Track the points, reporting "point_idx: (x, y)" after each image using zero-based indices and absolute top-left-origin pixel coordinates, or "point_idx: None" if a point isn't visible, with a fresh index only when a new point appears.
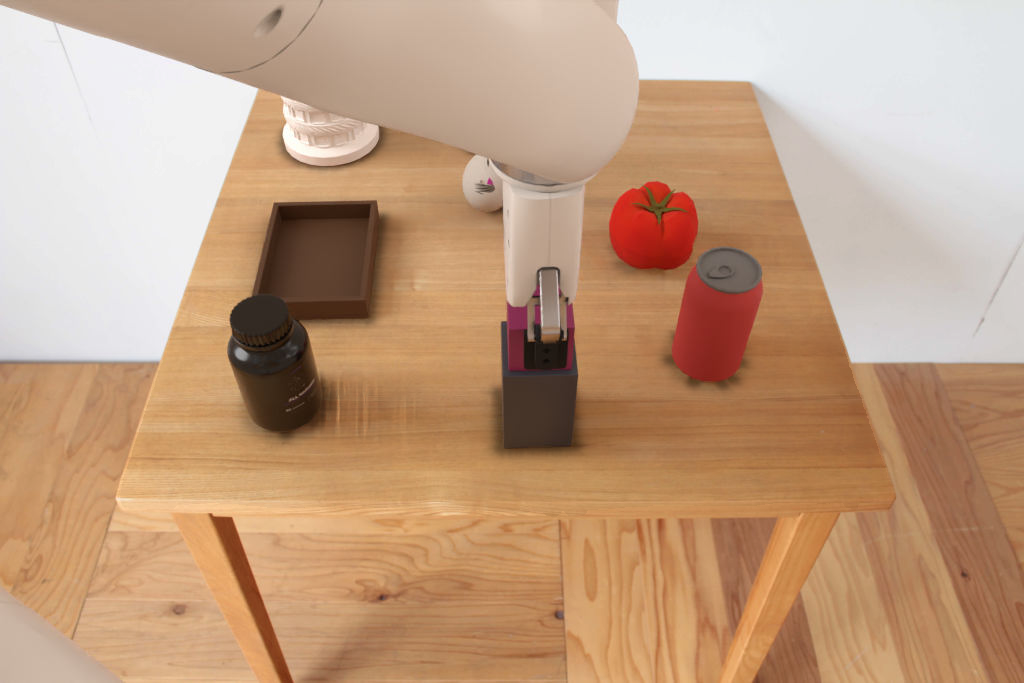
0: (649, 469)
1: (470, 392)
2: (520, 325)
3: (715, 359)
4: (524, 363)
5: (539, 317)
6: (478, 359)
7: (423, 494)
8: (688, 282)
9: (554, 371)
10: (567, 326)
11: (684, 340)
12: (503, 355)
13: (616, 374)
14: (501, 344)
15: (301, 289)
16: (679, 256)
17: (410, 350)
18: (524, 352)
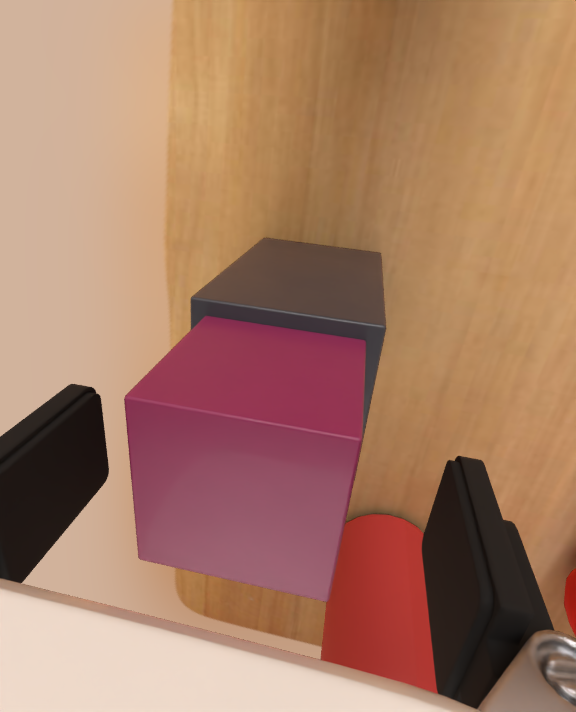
0: None
1: (400, 191)
2: (142, 434)
3: None
4: (58, 394)
5: (176, 493)
6: (483, 218)
7: (179, 71)
8: (404, 680)
9: None
10: (141, 546)
11: (366, 566)
12: (259, 311)
13: (381, 437)
14: (301, 312)
15: None
16: (570, 619)
17: (567, 50)
18: (19, 423)
